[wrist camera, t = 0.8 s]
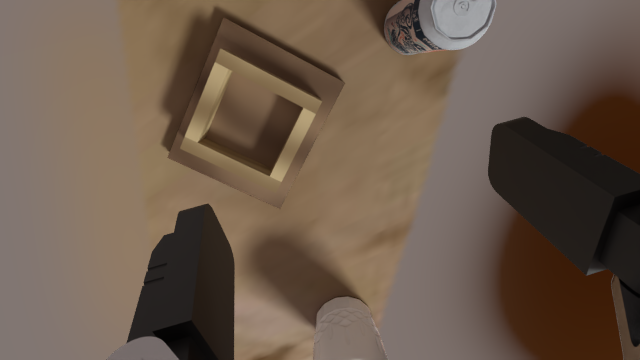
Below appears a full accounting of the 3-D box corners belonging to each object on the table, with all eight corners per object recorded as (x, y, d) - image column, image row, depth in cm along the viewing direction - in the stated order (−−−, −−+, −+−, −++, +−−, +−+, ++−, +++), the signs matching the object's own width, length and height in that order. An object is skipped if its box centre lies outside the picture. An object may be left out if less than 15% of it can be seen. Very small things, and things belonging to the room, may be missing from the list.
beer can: (372, 35, 33) (407, 18, 21) (403, -14, 31) (459, -59, 20) (413, 65, 33) (467, 64, 22) (445, 19, 32) (520, -6, 21)
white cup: (301, 303, 41) (299, 374, 32) (365, 282, 41) (383, 349, 31) (323, 353, 44) (327, 434, 34) (384, 335, 43) (406, 411, 34)
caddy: (226, 19, 32) (216, 13, 28) (343, 82, 34) (348, 84, 30) (171, 154, 35) (156, 164, 32) (280, 204, 37) (278, 218, 34)
